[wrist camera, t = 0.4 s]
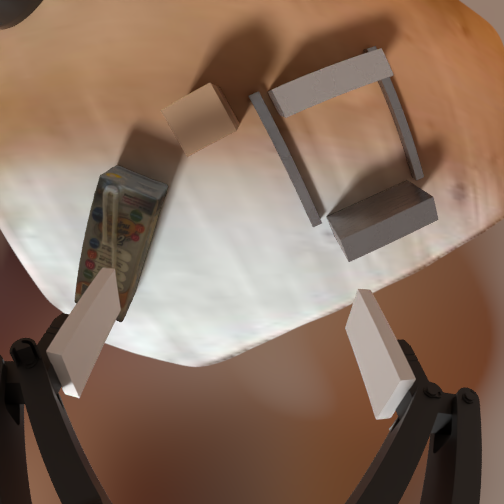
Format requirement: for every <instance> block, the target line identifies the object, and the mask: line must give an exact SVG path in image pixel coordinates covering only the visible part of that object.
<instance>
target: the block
mask: <svg viewBox="0 0 504 504" xmlns="http://www.w3.org/2000/svg"><path fill="white" fill-rule="evenodd" d="M161 112H162V114H163V116H164V117H165V119H166V121H167V123H168V124H169V126H170V128H171V130H172V131H173V133H174V135H175V137H176V138H177V140H178V142H179V144H180V145H181V147H182V149H183V151H184V152H185V154H186V156H187V157H188V156H190V155H192V154H194V153H196V152H197V151H199V150H201V149H203V148H205V147H207V146H209V145H210V144H212V143H214V142H216V141H218V140H220V139H222V138H224V137H226V136H228V135H230V134H232V133H234V132H236V131H237V129H238V127H239V125H240V124H239V122H238V120H237V118H236V116H235V114H234V112H233V111H232V109H231V107H230V105H229V103H228V101H227V100H226V98H225V96H224V94H223V92H222V91H221V89H220V87H218V86H216V85H214V84H212V83H208V84H206V85H204V86H203V87H201V88H199V89H197V90H195V91H193V92H192V93H190V94H188V95H186V96H184V97H183V98H181V99H179V100H177V101H176V102H174V103H172V104H171V105H169V106H167V107H166V108H164V109H162V110H161Z"/></svg>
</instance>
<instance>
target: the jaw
mask: <svg viewBox="0 0 504 504" xmlns="http://www.w3.org/2000/svg"><path fill="white" fill-rule="evenodd" d="M390 76H393V72H392V70H391V68H390V65H389V63H388V61H387V59H386V57H385V54H384V52H383V50H382V48H380V49H377V50H374V51H371V52H368V53H365V54H362V55H359V56H356V57H353V58H350V59H347V60H344V61H341V62H339V63H336V64H333V65H330V66H328V67H325V68H323V69H320V70H317V71H315V72H312V73H310V74H307V75H305V76H302V77H300V78H298V79H295V80H293V81H290V82H288V83H286V84H283V85H281V86H279V87H277V88H274V89H272V90H270V91H268V94H269V96H270V98H271V100H272V102H273V104H274V106H275V108H276V110H277V112H278V114H279V115H281V116H283V117H285V118H287V117H289V116H291V115H293V114H296V113H298V112H300V111H302V110H305V109H307V108H309V107H312V106H314V105H316V104H319V103H321V102H324V101H326V100H329V99H331V98H334V97H336V96H339V95H341V94H344V93H346V92H349V91H351V90H354V89H357V88H359V87H362V86H365V85H367V84H370V83H373V82H376V81H379V80H381V79H384V78H387V77H390Z"/></svg>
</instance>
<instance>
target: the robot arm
mask: <svg viewBox="0 0 504 504" xmlns="http://www.w3.org/2000/svg"><path fill="white" fill-rule="evenodd" d="M41 2H42V0H0V30H2V29H7V28H10V27H13V26H15V25H17V24H18V23H20V22H21V21H23V20H24V19H25V18H26V17H28V16H29V15H30V14H31V13H32V12H33V11H34V10H35V9H36V8H37V6H38V5H39V4H40V3H41ZM120 311H121V308H120V302H119V295H118V288H117V281H116V274H115V269H111V268H102V269H101V270H100V272H99V273H98V274H97V276H96V277H95V278H94V280H93V281H92V283H91V284H90V285H89V287H88V288H87V290H86V291H85V292H84V294H83V295H82V297H81V298H80V300H79V301H78V303H77V304H76V306H75V307H74V308H73V310H72V311H71V313H70V314H64V313H62V314H61V315H59V316H58V317H57V318H55V319H54V321H53V322H52V324H51V325H50V328H48V329H47V331H46V333H45V334H44V335H43V337H42V338H41V340H40V341H39V343H38V345H36V343H35V341H34V340H32V339H30V338H22V339H19V340H17V341H16V342H14V343H13V344H12V346H11V348H10V354H11V356H12V358H13V360H14V361H4V360H3V358H2V357H1V355H0V504H32V502H31V495H30V489H29V481H28V473H27V464H26V452H25V436H24V404H25V405H26V409H27V412H28V416H29V419H30V422H31V426H32V429H33V432H34V435H35V438H36V441H37V444H38V447H39V450H40V453H41V455H42V458H43V461H44V463H45V466H46V468H47V471H48V473H49V476H50V478H51V481H52V483H53V485H54V488H55V490H56V492H57V494H58V496H59V498H60V501H61V503H62V504H112V502H111V501H110V499H109V498H108V496H107V494H106V492H105V491H104V489H103V487H102V485H101V484H100V482H99V480H98V478H97V476H96V474H95V473H94V471H93V469H92V467H91V465H90V463H89V461H88V459H87V457H86V455H85V453H84V451H83V449H82V447H81V445H80V443H79V440H78V438H77V436H76V434H75V432H74V430H73V427H72V425H71V422H70V420H69V418H68V415H67V413H66V410H65V408H64V405H63V403H62V400H61V397H60V395H59V393H58V392H59V390H60V388H61V386H62V389H63V391H64V393H65V394H66V395H71V396H74V397H78V398H80V396H81V393H82V391H83V389H84V386H85V384H86V382H87V379H88V377H89V375H90V373H91V370H92V368H93V366H94V364H95V362H96V360H97V358H98V356H99V353H100V351H101V349H102V347H103V345H104V343H105V341H106V339H107V337H108V335H109V333H110V331H111V328H112V326H113V324H114V322H115V320H116V318H117V316H118V315H119V313H120ZM345 329H346V331H347V334H348V337H349V340H350V343H351V345H352V348H353V351H354V354H355V357H356V360H357V363H358V365H359V368H360V372H361V374H362V377H363V380H364V383H365V387H366V390H367V392H368V395H369V398H370V402H371V405H372V408H373V411H374V414H375V418H376V419H384V418H391V416H392V415H393V413H394V412H395V411H396V412H397V415H398V418H397V419H396V420H395V422H394V423H393V425H392V426H391V427H390V428H389V430H390V432H389V434H388V435H387V437H386V439H385V441H384V443H383V444H382V446H381V448H380V450H379V452H378V453H377V455H376V457H375V458H374V460H373V462H372V463H371V465H370V467H369V468H368V470H367V472H366V473H365V475H364V476H363V478H362V479H361V481H360V483H359V484H358V485H357V487H356V488H355V490H354V492H353V493H352V494H351V496H350V497H349V499H348V500H347V502H346V503H345V504H398V503H399V501H400V499H401V497H402V496H403V494H404V492H405V490H406V488H407V486H408V484H409V482H410V480H411V478H412V475H413V473H414V471H415V469H416V467H417V465H418V462H419V460H420V458H421V456H422V453H423V451H424V448H425V446H426V444H427V441H428V439H429V436H430V443H429V451H428V459H427V467H426V473H425V480H424V485H423V491H422V496H421V501H420V504H479V501H480V489H481V465H482V464H481V463H482V439H481V417H480V403H479V397H478V395H477V394H476V392H474V391H473V390H472V389H469V388H461V389H460V390H459V391H458V392H457V393H456V394H449V393H444V392H442V390H441V388H440V387H439V386H438V385H436V384H435V383H432V382H429V381H428V379H427V377H426V375H425V373H424V371H423V369H422V367H421V365H420V363H419V362H418V359H417V357H416V355H415V353H414V351H413V350H412V348H411V346H410V345H409V344H408V343H407V342H406V341H405V340H397V339H396V337H395V335H394V333H393V331H392V329H391V327H390V326H389V324H388V322H387V320H386V318H385V316H384V314H383V312H382V310H381V309H380V307H379V305H378V303H377V301H376V299H375V297H374V296H373V294H372V292H371V290H366V289H358V290H357V294H356V297H355V300H354V303H353V306H352V309H351V312H350V315H349V318H348V321H347V324H346V327H345Z"/></svg>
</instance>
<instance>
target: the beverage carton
mask: <svg viewBox="0 0 504 504" xmlns="http://www.w3.org/2000/svg"><path fill="white" fill-rule="evenodd" d="M167 188H168V185H166V184H164V183H161V182H158V181H155V180H153V179H150V178H147V177H145V176H143V175H140V174H138V173H135V172H133V171H130V170H128V169H126V168H123V167H121V166H115V167H112V168H111V169H110V170H108V171H107V172H106V173H103V174H101V175H100V177H99V181H98V185H97V188H96V191H95V194H94V199H93V203H92V206H91V210H90V215H89V219H88V223H87V228H86V232H85V237H84V242H83V247H82V252H81V258H80V264H79V270H78V277H77V284H76V292H75V303H78V301H79V300H80V298H81V297H82V295H83V294H84V292H85V291H86V290H87V288H88V287H89V285H90V284H91V283H92V281H93V280H94V278H95V277H96V276H97V274H98V273H99V272H100V270H101V269H102V268H111V269H115V274H116V281H117V288H118V295H119V302H120V308H121V311H120V313H119V315H118V316H117V318H116V320H117V321H119V322H122V321H123V320H124V317H125V316H126V313H127V311H128V309H129V306H130V304H131V302H132V300H133V297H134V294H135V291H136V288H137V284H138V281H139V278H140V274H141V271H142V267H143V264H144V261H145V258H146V255H147V251H148V248H149V245H150V242H151V239H152V236H153V232H154V229H155V226H156V222H157V219H158V216H159V213H160V209H161V205H162V202H163V200H164V198H165V196H166V193H167Z"/></svg>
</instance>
